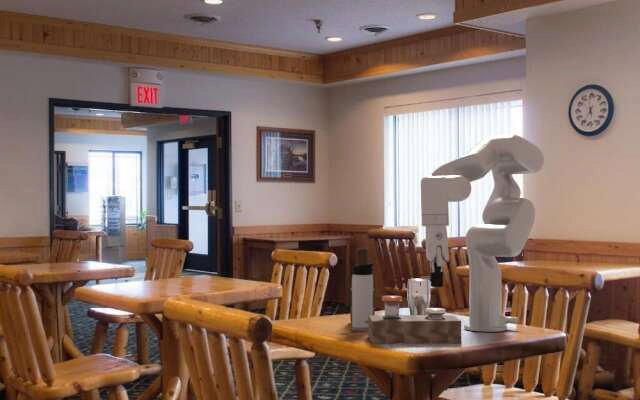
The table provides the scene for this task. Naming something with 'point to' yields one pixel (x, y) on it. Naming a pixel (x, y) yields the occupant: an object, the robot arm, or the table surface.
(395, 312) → the plug terracotta
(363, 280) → the travel mug
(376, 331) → the socket board
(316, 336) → the table surface
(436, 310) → the plug cream
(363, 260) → the beer bottle
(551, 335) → the table surface
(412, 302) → the beer glass
